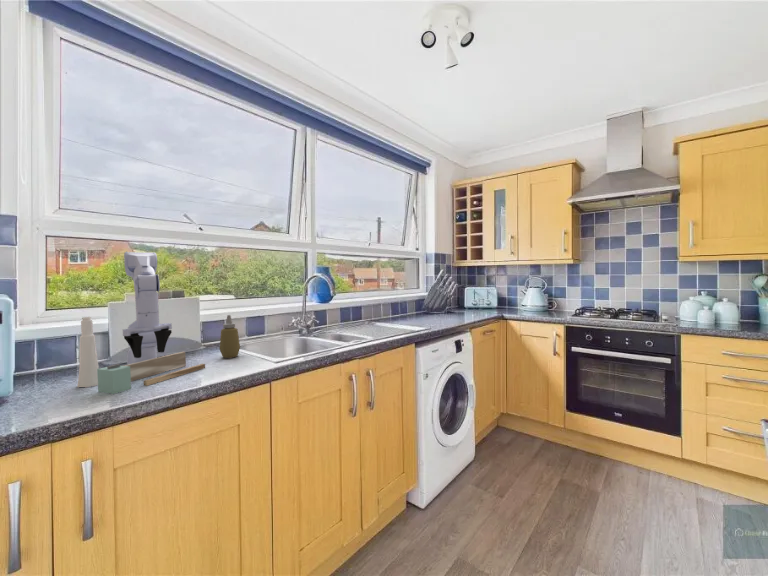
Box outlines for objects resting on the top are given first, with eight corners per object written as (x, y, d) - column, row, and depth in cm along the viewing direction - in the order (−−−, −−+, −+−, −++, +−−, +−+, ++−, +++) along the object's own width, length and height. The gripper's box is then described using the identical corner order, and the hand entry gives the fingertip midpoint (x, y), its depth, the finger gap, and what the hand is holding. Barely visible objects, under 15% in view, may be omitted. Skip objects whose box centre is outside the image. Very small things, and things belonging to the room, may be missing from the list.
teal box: (98, 391, 103) (97, 366, 102) (116, 386, 107) (115, 362, 107) (113, 394, 100) (112, 368, 100) (131, 388, 105) (130, 364, 105)
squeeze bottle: (235, 358, 142) (233, 316, 141) (216, 359, 142) (214, 316, 141) (243, 354, 150) (242, 314, 149) (225, 354, 150) (224, 314, 149)
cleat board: (122, 382, 112) (122, 365, 111) (183, 365, 132) (182, 351, 132) (146, 385, 108) (146, 368, 107) (205, 367, 128) (204, 353, 128)
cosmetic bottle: (106, 381, 113) (103, 316, 112) (91, 387, 107) (87, 318, 106) (88, 382, 113) (85, 316, 112) (71, 388, 107) (68, 318, 106)
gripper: (133, 315, 100) (135, 361, 100) (177, 310, 114) (179, 350, 114) (117, 314, 102) (119, 359, 103) (162, 310, 116) (164, 349, 116)
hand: (149, 354), depth 109 cm, fingers open, 7 cm apart
